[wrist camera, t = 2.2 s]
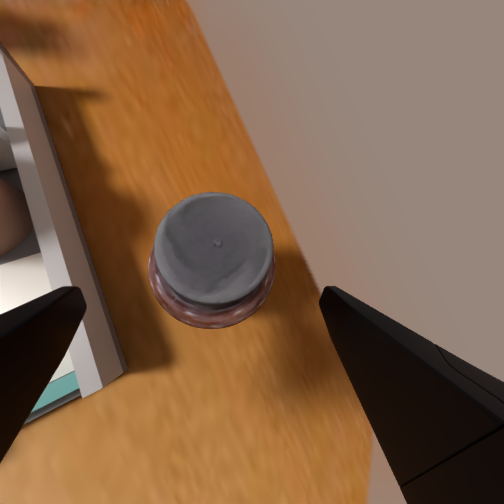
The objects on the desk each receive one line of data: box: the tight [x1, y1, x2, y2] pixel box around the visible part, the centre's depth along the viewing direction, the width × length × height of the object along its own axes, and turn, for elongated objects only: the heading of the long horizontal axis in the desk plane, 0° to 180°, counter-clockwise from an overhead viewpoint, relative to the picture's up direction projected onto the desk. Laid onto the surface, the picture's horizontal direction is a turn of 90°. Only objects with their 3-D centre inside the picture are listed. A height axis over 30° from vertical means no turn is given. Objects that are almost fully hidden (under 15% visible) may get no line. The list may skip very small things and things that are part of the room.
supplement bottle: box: [148, 192, 276, 329], centre depth 12 cm, size 6×6×11 cm
